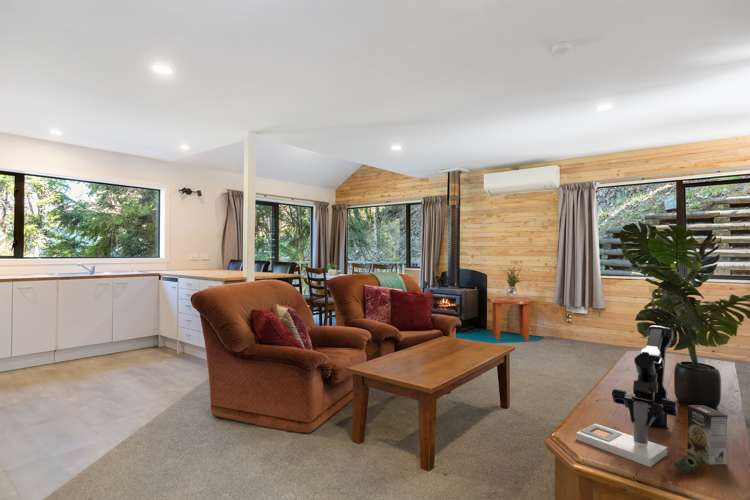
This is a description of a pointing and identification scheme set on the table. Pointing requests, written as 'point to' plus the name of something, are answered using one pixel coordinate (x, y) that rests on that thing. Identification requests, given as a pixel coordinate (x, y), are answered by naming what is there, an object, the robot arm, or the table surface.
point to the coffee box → (707, 434)
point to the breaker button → (601, 433)
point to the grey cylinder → (640, 423)
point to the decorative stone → (687, 464)
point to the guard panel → (622, 445)
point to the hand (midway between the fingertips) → (639, 424)
